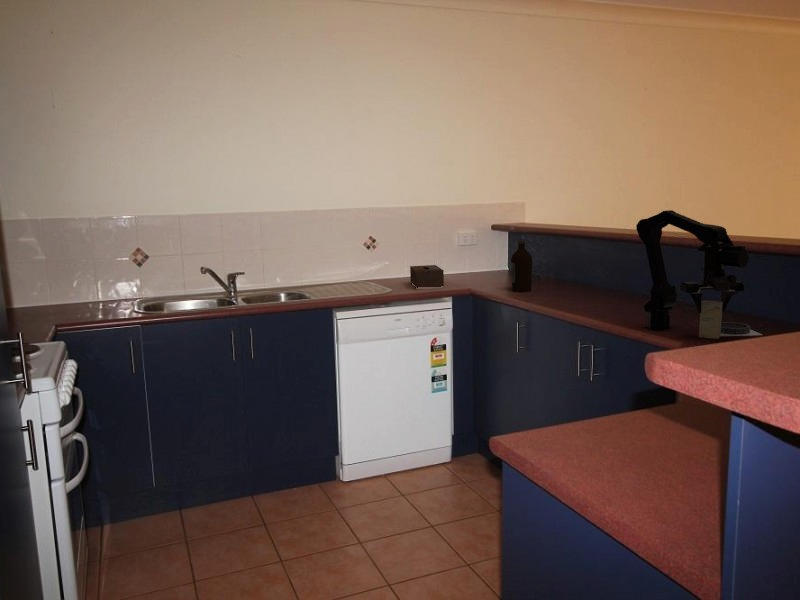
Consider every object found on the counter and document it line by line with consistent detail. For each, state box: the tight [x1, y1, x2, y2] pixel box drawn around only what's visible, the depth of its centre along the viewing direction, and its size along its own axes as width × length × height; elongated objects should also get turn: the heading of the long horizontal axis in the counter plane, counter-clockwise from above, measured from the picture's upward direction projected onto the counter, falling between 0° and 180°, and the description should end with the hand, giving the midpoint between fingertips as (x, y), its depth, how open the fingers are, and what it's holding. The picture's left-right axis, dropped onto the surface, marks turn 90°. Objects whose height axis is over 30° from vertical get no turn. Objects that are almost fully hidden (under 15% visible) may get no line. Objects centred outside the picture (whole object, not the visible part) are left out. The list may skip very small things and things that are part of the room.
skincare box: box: [698, 300, 723, 340], centre depth 219 cm, size 6×4×12 cm
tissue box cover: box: [409, 264, 445, 288], centre depth 359 cm, size 26×14×10 cm, turn 6°
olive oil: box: [510, 240, 534, 293], centre depth 330 cm, size 11×11×25 cm
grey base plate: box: [720, 329, 763, 337], centre depth 226 cm, size 14×14×1 cm
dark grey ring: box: [721, 321, 751, 335], centre depth 226 cm, size 11×11×2 cm
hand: (711, 312), depth 218 cm, fingers closed on skincare box, 7 cm apart
